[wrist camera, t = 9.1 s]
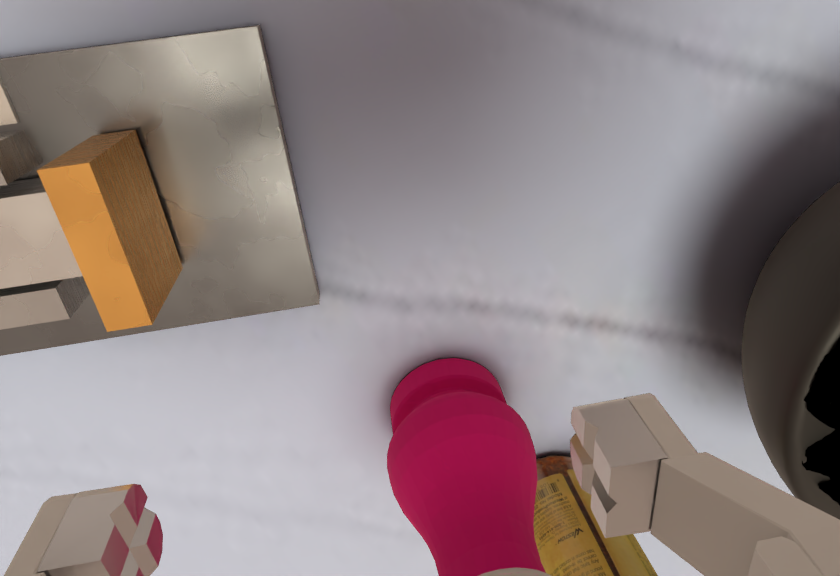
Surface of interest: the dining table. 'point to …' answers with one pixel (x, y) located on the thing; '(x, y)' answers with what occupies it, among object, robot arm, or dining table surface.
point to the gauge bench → (166, 175)
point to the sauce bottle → (578, 529)
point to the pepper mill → (464, 470)
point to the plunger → (92, 229)
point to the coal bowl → (799, 355)
